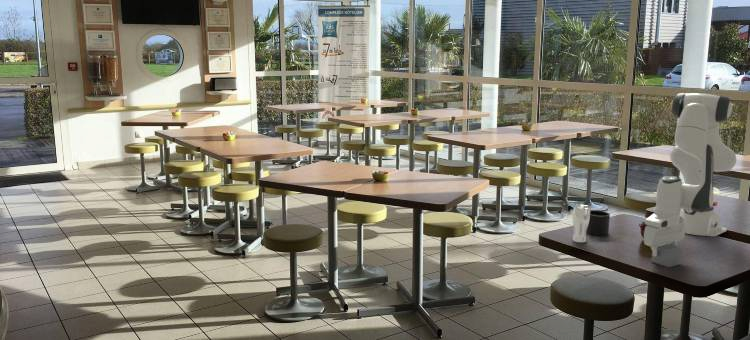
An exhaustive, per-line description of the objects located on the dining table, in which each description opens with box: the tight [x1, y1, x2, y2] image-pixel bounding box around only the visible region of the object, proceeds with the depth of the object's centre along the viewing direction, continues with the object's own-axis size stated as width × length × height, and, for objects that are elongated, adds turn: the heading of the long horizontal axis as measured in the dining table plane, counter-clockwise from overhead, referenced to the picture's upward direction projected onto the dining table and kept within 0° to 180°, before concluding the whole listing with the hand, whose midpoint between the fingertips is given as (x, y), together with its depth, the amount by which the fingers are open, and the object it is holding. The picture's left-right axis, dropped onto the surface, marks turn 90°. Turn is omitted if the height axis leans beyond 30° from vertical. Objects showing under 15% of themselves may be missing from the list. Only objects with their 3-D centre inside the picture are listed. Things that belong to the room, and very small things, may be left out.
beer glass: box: [571, 204, 591, 244], centre depth 270 cm, size 7×7×15 cm
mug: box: [587, 210, 611, 237], centre depth 283 cm, size 9×12×9 cm
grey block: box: [651, 243, 683, 268], centre depth 243 cm, size 7×7×7 cm
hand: (663, 254), depth 245 cm, fingers open, 8 cm apart
